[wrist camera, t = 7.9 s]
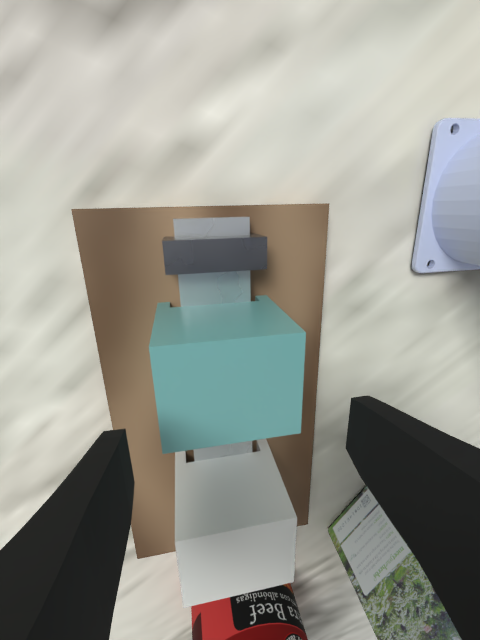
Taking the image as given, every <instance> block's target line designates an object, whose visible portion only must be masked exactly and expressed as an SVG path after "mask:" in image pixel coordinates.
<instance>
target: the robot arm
mask: <svg viewBox="0 0 480 640" xmlns="http://www.w3.org/2000/svg"><path fill="white" fill-rule="evenodd" d="M451 126H452V127H453V133H452V134H451V130H450V129H451ZM429 261H430V264H429V266H428V267H427V263H428V262H429ZM412 269H413V271H415V272H418V273H430V272H445V271H461V270H476V269H480V119H468V118H445V119H442V120H439V121H438V122H437V123H436V124H435V126H434V128H433V133H432V139H431V146H430V152H429V158H428V165H427V171H426V177H425V184H424V190H423V196H422V203H421V209H420V215H419V221H418V228H417V234H416V240H415V247H414V253H413V259H412ZM346 449H347V451H348V453H349V455H350V457H351V459H352V461H353V463H354V465H355V467H356V469H357V471H358V473H359V475H360V476H361V478H362V480H363V481H364V483H365V484H366V486H367V487H368V488H369V490H370V491H371V493H372V494H373V496H374V497H375V499H376V500H377V502H378V503H379V505H380V506H381V508H382V509H383V510H384V512H385V513H386V515H387V516H388V518H389V519H390V521H391V522H392V523H393V525H394V526H395V528H396V529H397V531H398V532H399V534H400V535H401V537H402V538H403V539H404V541H405V542H406V544H407V545H408V547H409V548H410V550H411V551H412V553H413V555H414V556H415V558H416V559H417V561H418V562H419V564H420V566H421V568H422V569H423V571H424V573H425V575H426V576H427V578H428V580H429V581H430V583H431V585H432V587H433V588H434V590H435V592H436V594H437V595H438V597H439V599H440V601H441V602H442V604H443V606H444V608H445V610H446V612H447V613H448V615H449V617H450V619H451V621H452V623H453V625H454V626H455V628H456V630H457V632H458V634H459V636H460V637H461V639H462V640H480V449H479V448H477V447H475V446H472V445H470V444H468V443H466V442H463V441H461V440H459V439H457V438H455V437H452V436H450V435H448V434H446V433H444V432H442V431H440V430H438V429H436V428H434V427H432V426H430V425H428V424H426V423H424V422H422V421H420V420H418V419H416V418H414V417H412V416H410V415H408V414H406V413H404V412H402V411H400V410H398V409H396V408H394V407H392V406H390V405H388V404H386V403H384V402H382V401H379V400H377V399H375V398H373V397H370V396H361V397H354V398H351V405H350V414H349V423H348V432H347V441H346ZM134 486H135V481H134V475H133V469H132V464H131V458H130V452H129V446H128V440H127V435H126V429H118V430H110V431H104V432H103V433H102V434H101V435H100V436H99V437H98V439H97V440H96V441H95V442H94V444H93V445H92V446H91V448H90V449H89V450H88V451H87V453H86V454H85V455H84V456H83V458H82V459H81V460H80V461H79V463H78V464H77V465H76V467H75V468H74V469H73V470H72V471H71V473H70V474H69V475H68V476H67V477H66V479H65V480H64V481H63V482H62V483H61V485H60V486H59V487H58V488H57V489H56V491H55V492H54V493H53V494H52V495H51V496H50V498H49V499H48V500H47V501H46V502H45V503H44V504H43V505H42V507H41V508H40V509H39V510H38V511H37V512H36V513H35V514H34V515H33V516H32V518H31V519H30V520H29V521H28V522H27V523H26V524H25V525H24V526H23V527H22V529H21V530H20V531H19V532H18V533H17V534H16V535H15V536H14V537H13V538H12V539H11V540H10V541H9V542H8V543H7V544H6V545H5V546H4V547H3V548H2V549H1V550H0V640H109V635H110V629H111V623H112V617H113V611H114V606H115V601H116V596H117V591H118V586H119V581H120V576H121V571H122V566H123V561H124V556H125V551H126V546H127V540H128V535H129V530H130V525H131V519H132V510H133V498H134Z"/></svg>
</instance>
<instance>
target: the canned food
mask: <svg viewBox="0 0 480 640" xmlns="http://www.w3.org/2000/svg"><path fill="white" fill-rule="evenodd" d="M191 609H192V637H193V640H308V639H307V636H306V633H305V629H304V626H303V623H302V620H301V617H300V613H299V610H298V607H297V604H296V600H295V597H294V594H293V591H292V588H291V584H290V583H287V584H283V585H279V586H275V587H271V588H266V589H262V590H258V591H254V592H249V593H245V594H241V595H237V596H232V597H228V598H224V599H220V600H216V601H211V602H207V603H203V604H199V605H194V606H192V607H191Z"/></svg>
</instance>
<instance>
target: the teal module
mask: <svg viewBox="0 0 480 640" xmlns="http://www.w3.org/2000/svg"><path fill="white" fill-rule="evenodd" d="M305 342H306V332H305V331H304V330H303V329H302V328H301V327H300V326H299V325H298V324H297V323H296V322H294V321H293V320H292V319H291V318H290V317H289V316H288V315H287V314H286V313H285V312H284V311H283V310H282V309H281V308H280V307H278V306H277V305H276V304H275V303H274V302H273V301H272V300H271V299H270V298H269V297H268V296H267V295H259V296H255V301H251V302H238V303H225V304H211V305H198V306H184V307H171V308H170V302H161V303H157V308H156V313H155V318H154V323H153V328H152V334H151V339H150V344H149V353H150V360H151V368H152V376H153V384H154V391H155V399H156V407H157V415H158V423H159V430H160V438H161V446H162V454H167V453H173V452H180V451H187V450H193V449H200V448H206V447H213V446H220V445H226V444H233V443H239V442H246V441H253V440H259V439H266V438H272V437H279V436H286V435H292V434H299V433H301V419H302V400H303V381H304V361H305Z"/></svg>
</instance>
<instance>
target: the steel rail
mask: <svg viewBox="0 0 480 640" xmlns="http://www.w3.org/2000/svg"><path fill="white" fill-rule="evenodd" d="M173 224H174V235H175V236H170V237H164V238H163V240H162V246H163V255H164V265H165V275H178V281H179V292H180V303H181V307H184V306H198V305H211V304H225V303H238V302H251V292H250V270H265V269H267V237H266V236H263V235H260V234H256V233H250V217H209V218H174V219H173ZM193 450H194V461H201V460H207V459H214V458H220V457H226V456H232V455H239V454H245V453H251V452H252V441H246V442H239V443H233V444H226V445H220V446H213V447H206V448H200V449H193Z"/></svg>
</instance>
